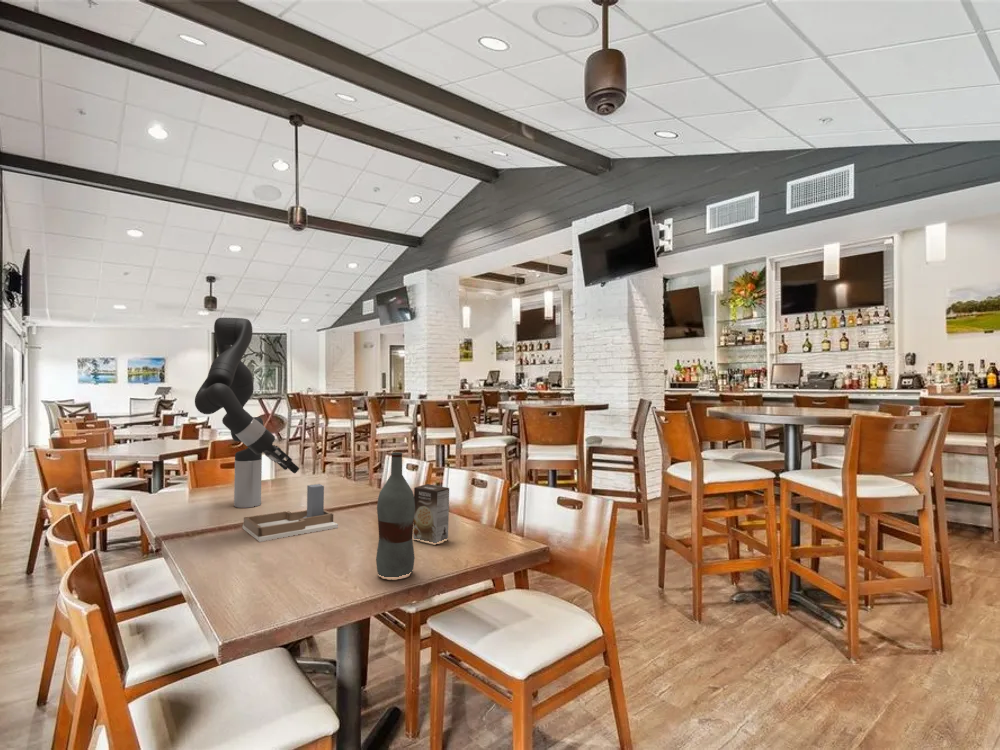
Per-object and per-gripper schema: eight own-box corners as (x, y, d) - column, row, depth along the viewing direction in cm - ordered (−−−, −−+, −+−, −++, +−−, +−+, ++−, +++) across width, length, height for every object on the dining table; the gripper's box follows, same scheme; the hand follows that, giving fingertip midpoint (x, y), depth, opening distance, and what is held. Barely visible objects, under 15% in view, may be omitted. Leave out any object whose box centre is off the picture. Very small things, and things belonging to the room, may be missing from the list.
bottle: (379, 584, 125) (381, 456, 125) (372, 571, 133) (374, 451, 133) (418, 578, 128) (420, 454, 129) (409, 566, 137) (411, 449, 137)
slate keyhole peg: (302, 520, 176) (303, 485, 176) (320, 517, 180) (320, 483, 180) (309, 523, 171) (310, 488, 171) (327, 520, 175) (328, 486, 175)
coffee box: (411, 540, 158) (412, 487, 159) (425, 535, 164) (426, 483, 164) (435, 546, 153) (436, 490, 154) (449, 540, 159) (450, 487, 159)
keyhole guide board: (242, 528, 169) (242, 516, 169) (316, 516, 185) (316, 506, 185) (259, 541, 156) (259, 529, 156) (337, 527, 171) (338, 516, 171)
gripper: (271, 428, 160) (308, 463, 167) (257, 425, 170) (292, 457, 178) (252, 447, 156) (291, 482, 163) (239, 442, 167) (276, 475, 174)
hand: (292, 469), depth 171 cm, fingers open, 8 cm apart
